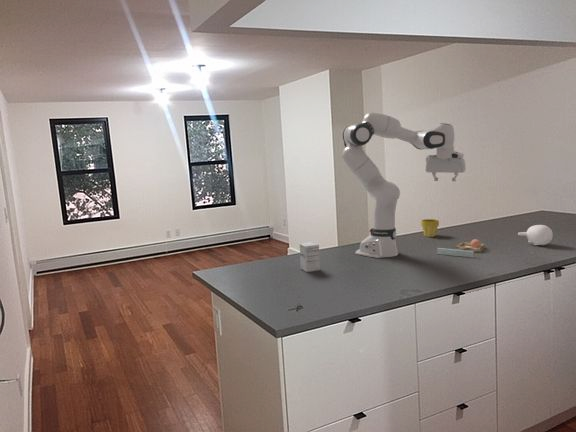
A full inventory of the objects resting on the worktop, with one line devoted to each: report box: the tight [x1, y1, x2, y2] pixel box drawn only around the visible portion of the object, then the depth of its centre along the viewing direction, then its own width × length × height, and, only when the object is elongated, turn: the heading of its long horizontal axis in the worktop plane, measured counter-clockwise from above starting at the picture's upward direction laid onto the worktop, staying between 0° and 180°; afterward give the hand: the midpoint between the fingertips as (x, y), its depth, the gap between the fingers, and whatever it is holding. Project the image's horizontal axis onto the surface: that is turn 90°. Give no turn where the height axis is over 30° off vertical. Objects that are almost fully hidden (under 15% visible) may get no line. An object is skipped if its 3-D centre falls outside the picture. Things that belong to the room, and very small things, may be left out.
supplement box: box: [299, 241, 321, 273], centre depth 230 cm, size 7×7×13 cm
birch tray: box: [455, 241, 486, 254], centre depth 257 cm, size 12×12×2 cm
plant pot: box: [420, 218, 440, 238], centre depth 294 cm, size 10×10×10 cm
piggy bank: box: [517, 224, 554, 246], centre depth 259 cm, size 12×12×15 cm
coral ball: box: [470, 238, 482, 248], centre depth 255 cm, size 5×5×5 cm
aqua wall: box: [436, 247, 475, 259], centre depth 245 cm, size 18×1×3 cm, turn 54°
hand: (445, 181), depth 253 cm, fingers open, 8 cm apart
